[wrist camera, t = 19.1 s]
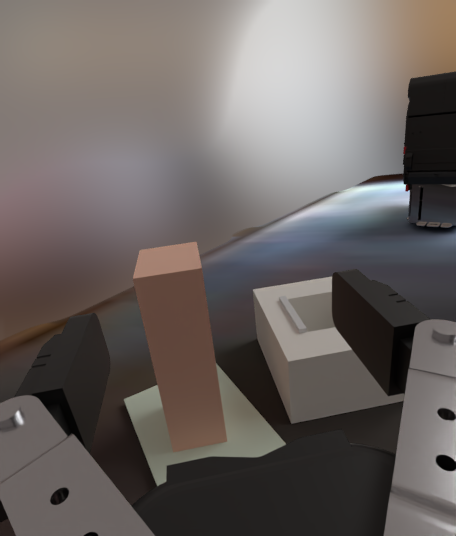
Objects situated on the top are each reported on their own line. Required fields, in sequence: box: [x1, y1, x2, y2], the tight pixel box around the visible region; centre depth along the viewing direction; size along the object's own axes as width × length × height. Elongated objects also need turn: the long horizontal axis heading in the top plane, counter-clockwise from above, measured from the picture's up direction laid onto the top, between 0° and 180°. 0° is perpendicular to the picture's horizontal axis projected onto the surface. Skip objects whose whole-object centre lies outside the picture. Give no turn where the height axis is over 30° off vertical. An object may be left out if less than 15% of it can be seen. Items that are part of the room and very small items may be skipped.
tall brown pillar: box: [133, 242, 227, 452], centre depth 26 cm, size 5×4×14 cm
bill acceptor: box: [403, 72, 456, 228], centre depth 65 cm, size 10×23×25 cm, turn 143°
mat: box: [124, 364, 286, 486], centre depth 29 cm, size 9×12×1 cm
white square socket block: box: [253, 277, 405, 424], centre depth 33 cm, size 12×10×6 cm
